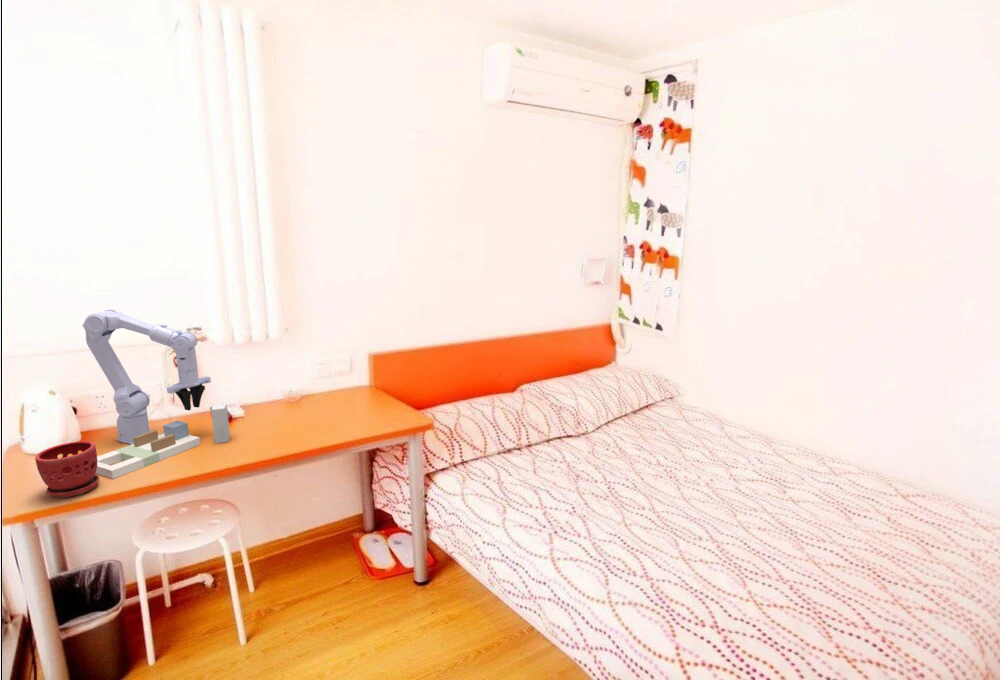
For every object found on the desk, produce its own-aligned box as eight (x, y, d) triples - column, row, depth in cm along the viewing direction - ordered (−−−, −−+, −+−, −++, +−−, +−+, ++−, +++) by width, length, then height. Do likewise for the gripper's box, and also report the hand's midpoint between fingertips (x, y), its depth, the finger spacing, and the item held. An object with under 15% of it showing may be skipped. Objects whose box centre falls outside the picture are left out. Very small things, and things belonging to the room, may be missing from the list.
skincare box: (216, 437, 193) (212, 404, 191) (230, 435, 195) (226, 402, 192) (214, 444, 188) (210, 409, 185) (228, 442, 189) (225, 408, 187)
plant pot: (90, 475, 165) (83, 436, 162) (109, 487, 157) (103, 447, 155) (34, 492, 154) (27, 451, 152) (53, 506, 147) (45, 463, 144)
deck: (83, 469, 168) (81, 452, 167) (172, 437, 193) (170, 422, 192) (113, 478, 163) (110, 460, 161) (200, 444, 187) (198, 428, 186)
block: (164, 438, 186) (163, 425, 185) (179, 433, 190) (177, 420, 189) (175, 440, 184) (173, 427, 183) (189, 435, 188) (187, 422, 187)
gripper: (175, 376, 180) (180, 416, 183) (215, 365, 193) (219, 403, 196) (160, 373, 183) (165, 413, 186) (200, 363, 196) (205, 400, 199)
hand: (192, 408), depth 191 cm, fingers open, 3 cm apart
